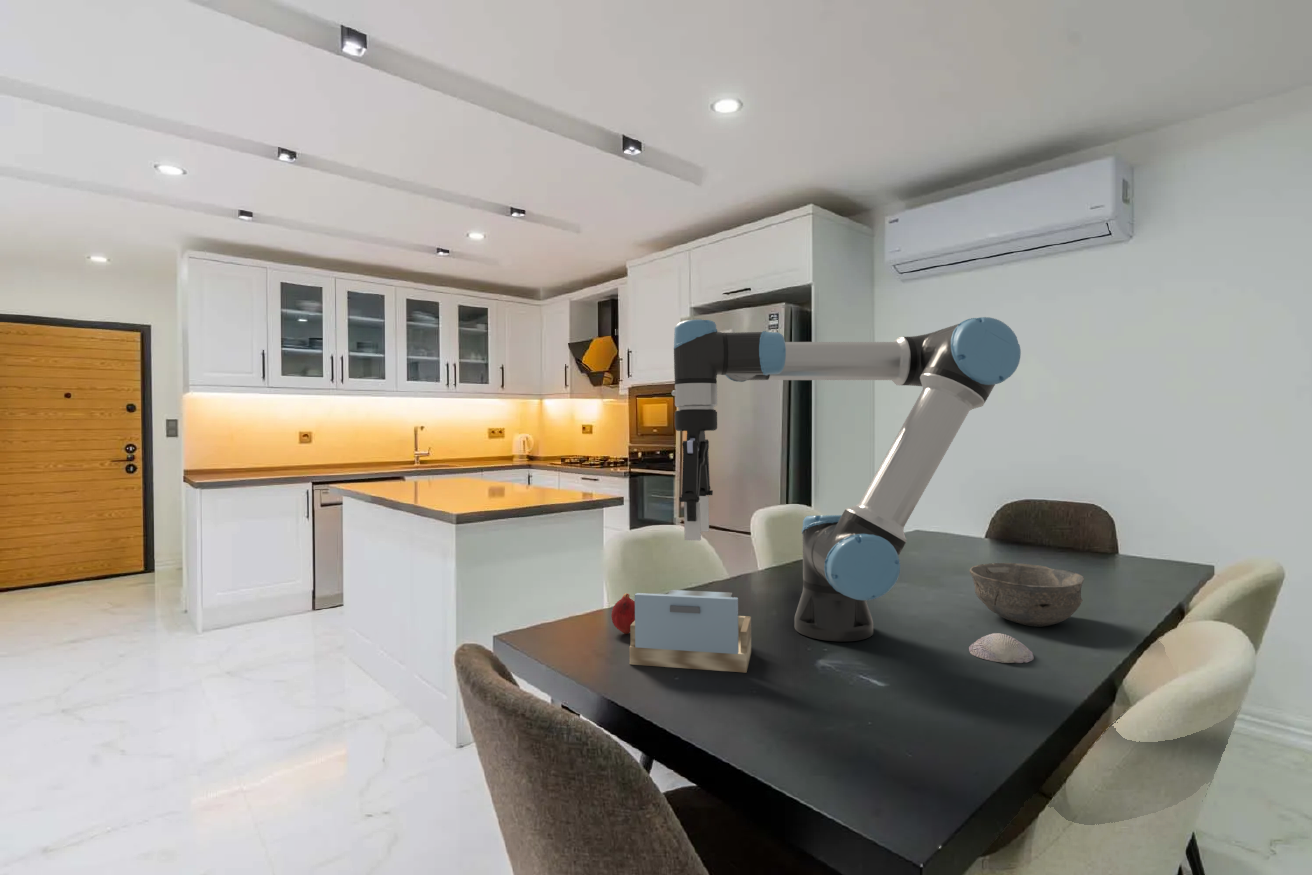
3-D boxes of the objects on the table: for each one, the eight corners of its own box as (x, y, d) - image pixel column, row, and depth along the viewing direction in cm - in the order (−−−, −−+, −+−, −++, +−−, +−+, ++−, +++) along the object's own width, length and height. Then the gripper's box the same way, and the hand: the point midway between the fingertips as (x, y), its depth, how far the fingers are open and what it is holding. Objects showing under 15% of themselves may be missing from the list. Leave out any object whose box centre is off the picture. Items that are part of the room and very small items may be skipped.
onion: (637, 639, 125) (636, 597, 125) (608, 637, 126) (607, 596, 126) (643, 630, 130) (643, 590, 130) (616, 628, 132) (615, 589, 132)
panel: (738, 651, 108) (738, 597, 108) (737, 655, 106) (736, 600, 106) (637, 645, 111) (636, 592, 111) (634, 648, 110) (633, 595, 110)
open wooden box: (753, 640, 123) (753, 593, 123) (746, 672, 107) (745, 618, 107) (651, 634, 128) (651, 588, 128) (629, 664, 111) (628, 612, 111)
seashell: (972, 645, 111) (965, 617, 120) (972, 674, 112) (965, 643, 121) (1040, 650, 107) (1027, 620, 117) (1040, 679, 108) (1027, 648, 118)
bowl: (973, 629, 128) (973, 579, 128) (966, 603, 148) (966, 559, 147) (1097, 641, 121) (1097, 587, 121) (1072, 612, 140) (1072, 566, 140)
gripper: (685, 410, 126) (687, 526, 127) (662, 407, 105) (663, 545, 105) (724, 410, 125) (725, 526, 125) (708, 406, 104) (709, 546, 104)
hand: (697, 535), depth 115 cm, fingers open, 9 cm apart
